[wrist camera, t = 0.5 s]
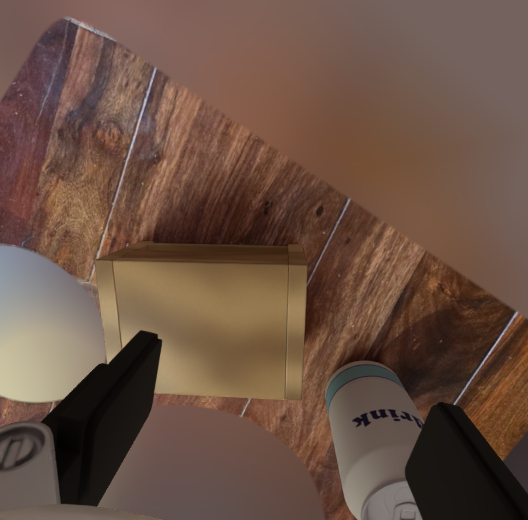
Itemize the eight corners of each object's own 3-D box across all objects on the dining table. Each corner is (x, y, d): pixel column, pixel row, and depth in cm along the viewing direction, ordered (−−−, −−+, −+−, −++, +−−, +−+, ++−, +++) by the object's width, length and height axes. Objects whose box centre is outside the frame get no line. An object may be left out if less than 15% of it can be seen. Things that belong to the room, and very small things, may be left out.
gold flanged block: (140, 240, 27) (94, 259, 21) (301, 243, 27) (307, 265, 20) (149, 344, 30) (110, 391, 23) (297, 350, 29) (301, 401, 22)
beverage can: (401, 355, 29) (482, 473, 17) (395, 419, 30) (464, 567, 19) (324, 353, 29) (352, 468, 17) (322, 417, 31) (346, 560, 19)
